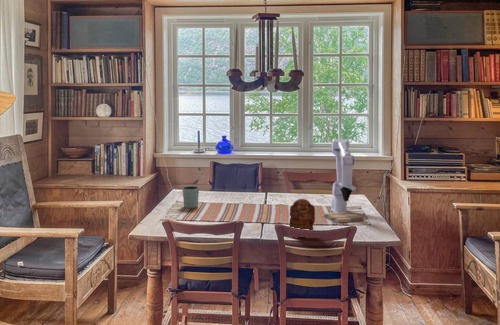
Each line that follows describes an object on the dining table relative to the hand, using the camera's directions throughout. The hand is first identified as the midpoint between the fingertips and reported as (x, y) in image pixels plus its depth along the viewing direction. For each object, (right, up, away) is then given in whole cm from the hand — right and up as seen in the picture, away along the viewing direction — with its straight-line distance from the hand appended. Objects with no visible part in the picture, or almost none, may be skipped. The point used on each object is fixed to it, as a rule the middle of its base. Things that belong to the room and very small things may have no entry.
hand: (346, 200), depth 254 cm
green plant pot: (-90, -6, +24) cm, 94 cm away
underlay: (-2, -10, -1) cm, 10 cm away
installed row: (+2, -10, +1) cm, 10 cm away
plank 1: (-7, -9, +1) cm, 12 cm away
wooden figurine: (-28, -14, -32) cm, 45 cm away
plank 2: (-4, -10, -5) cm, 12 cm away
